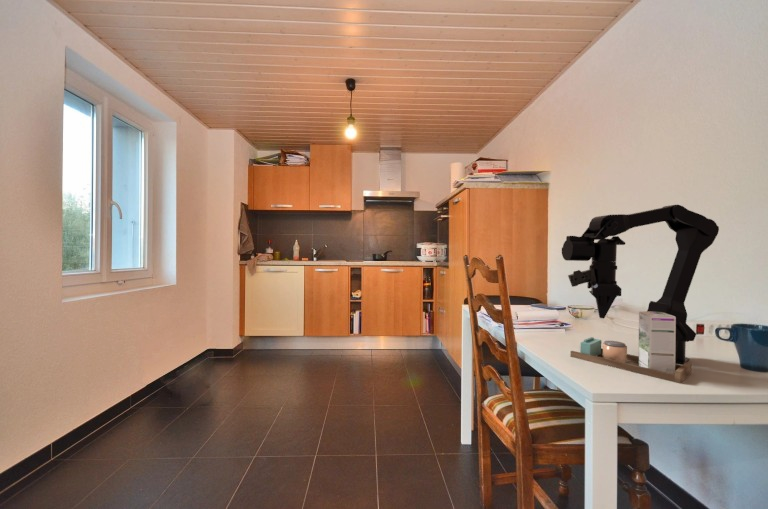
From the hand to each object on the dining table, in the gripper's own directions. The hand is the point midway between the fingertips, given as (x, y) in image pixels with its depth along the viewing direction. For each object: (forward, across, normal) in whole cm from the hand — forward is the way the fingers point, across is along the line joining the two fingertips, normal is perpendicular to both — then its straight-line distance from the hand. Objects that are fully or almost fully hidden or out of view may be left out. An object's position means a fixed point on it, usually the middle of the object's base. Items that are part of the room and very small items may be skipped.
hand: (601, 318), depth 96 cm
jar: (+11, +1, +3) cm, 12 cm away
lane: (+11, +2, +5) cm, 13 cm away
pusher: (+11, -2, -2) cm, 12 cm away
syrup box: (+11, +5, +11) cm, 17 cm away
